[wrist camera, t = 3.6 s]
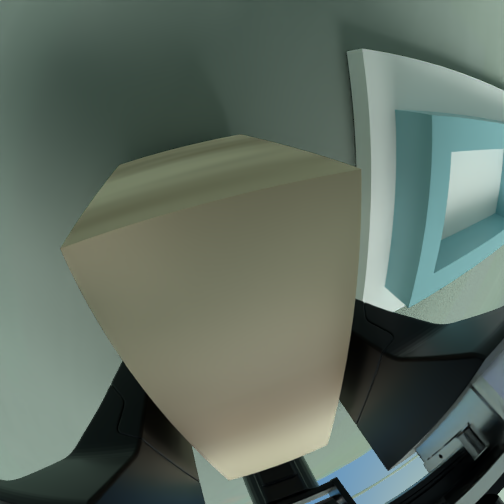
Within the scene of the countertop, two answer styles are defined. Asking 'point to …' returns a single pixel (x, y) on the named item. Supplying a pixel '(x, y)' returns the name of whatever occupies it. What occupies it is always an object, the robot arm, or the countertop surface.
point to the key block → (228, 291)
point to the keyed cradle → (424, 175)
